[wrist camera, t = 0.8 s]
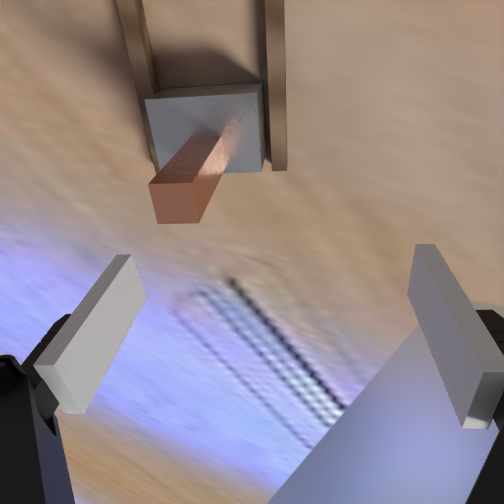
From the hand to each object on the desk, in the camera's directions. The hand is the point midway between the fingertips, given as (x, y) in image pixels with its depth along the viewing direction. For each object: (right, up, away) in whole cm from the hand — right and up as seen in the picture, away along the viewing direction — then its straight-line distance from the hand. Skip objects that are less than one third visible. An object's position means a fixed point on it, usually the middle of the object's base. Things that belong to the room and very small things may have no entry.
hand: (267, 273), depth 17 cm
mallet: (-4, +15, +21) cm, 26 cm away
